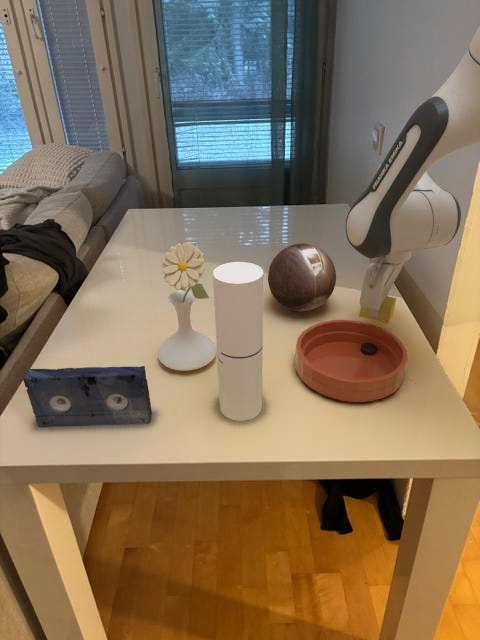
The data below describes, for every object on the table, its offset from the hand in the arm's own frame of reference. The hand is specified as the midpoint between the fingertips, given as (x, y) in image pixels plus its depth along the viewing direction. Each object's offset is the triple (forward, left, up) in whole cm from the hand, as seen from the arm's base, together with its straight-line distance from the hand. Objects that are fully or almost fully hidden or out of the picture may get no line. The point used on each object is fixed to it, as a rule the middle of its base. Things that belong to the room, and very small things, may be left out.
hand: (377, 308), depth 96 cm
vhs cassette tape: (+33, +48, -5) cm, 59 cm away
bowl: (+1, +16, -5) cm, 17 cm away
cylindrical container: (+14, +34, -5) cm, 37 cm away
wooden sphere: (+18, -2, -5) cm, 19 cm away
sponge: (0, 0, -2) cm, 2 cm away
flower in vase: (+29, +27, -5) cm, 40 cm away
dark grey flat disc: (-1, +9, -4) cm, 10 cm away
